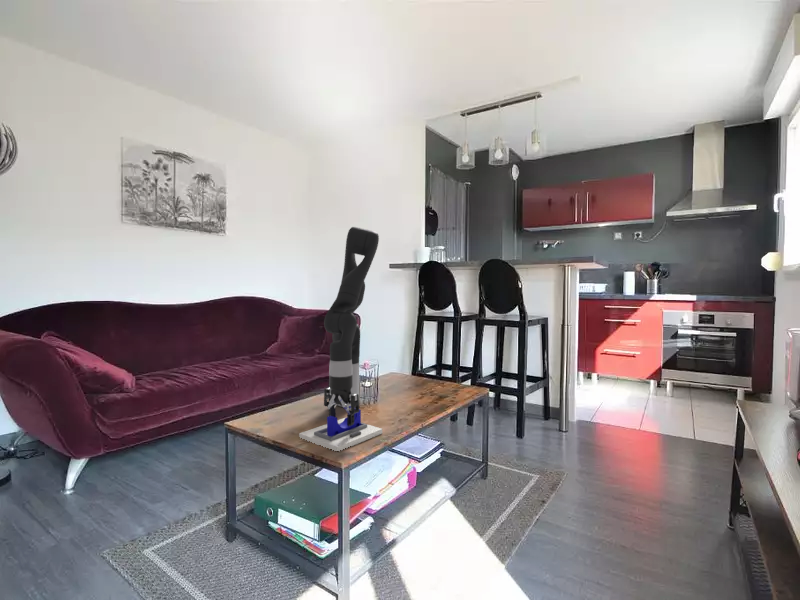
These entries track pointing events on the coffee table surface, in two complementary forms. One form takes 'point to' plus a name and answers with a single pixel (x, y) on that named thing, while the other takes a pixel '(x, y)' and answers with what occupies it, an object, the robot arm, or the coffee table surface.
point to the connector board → (340, 436)
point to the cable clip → (336, 428)
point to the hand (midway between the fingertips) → (341, 422)
